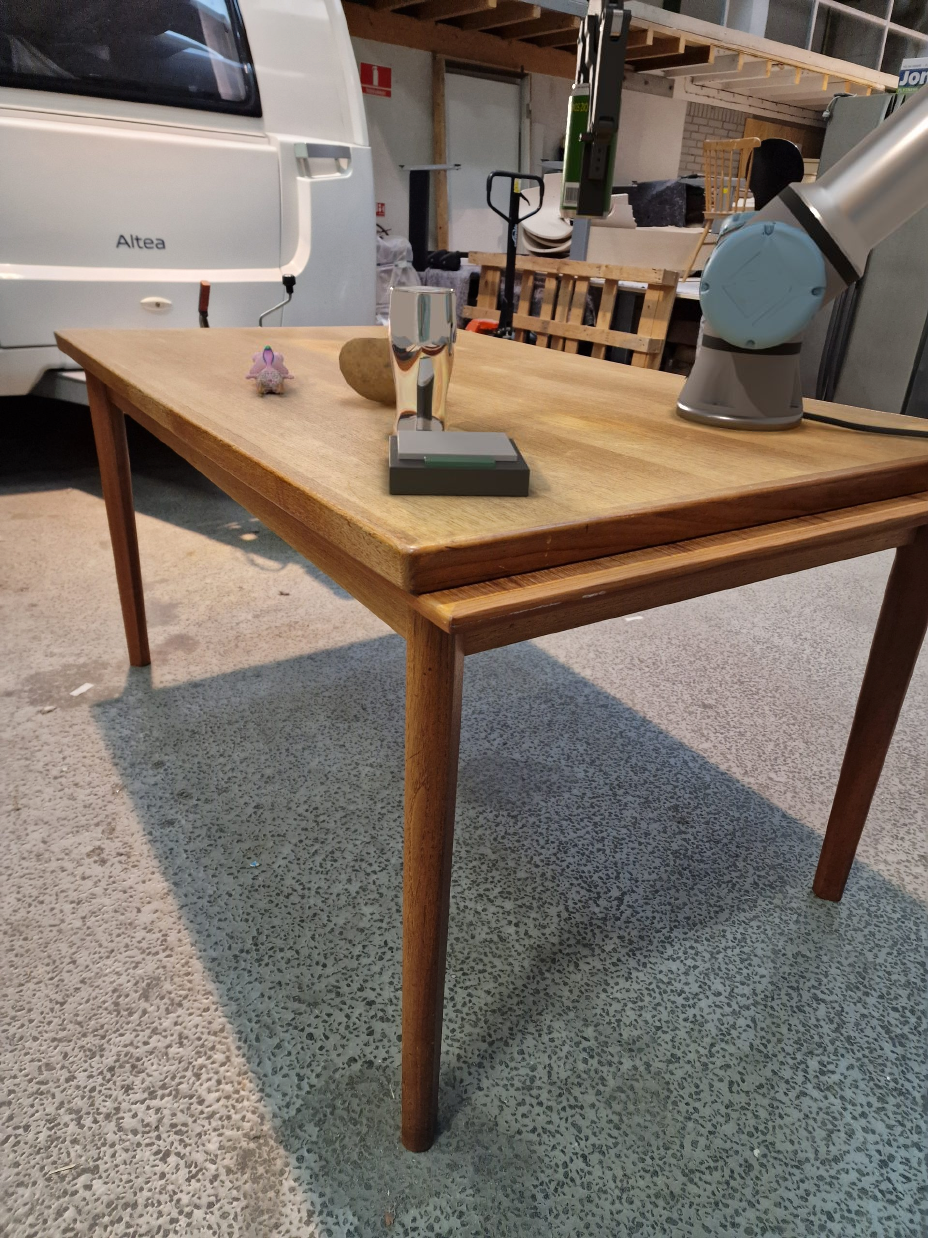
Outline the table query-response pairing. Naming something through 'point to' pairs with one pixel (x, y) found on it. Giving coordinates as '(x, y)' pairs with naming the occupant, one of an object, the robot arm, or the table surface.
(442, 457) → the scale
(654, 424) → the table surface
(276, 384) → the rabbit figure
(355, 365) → the potato
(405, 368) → the beer glass
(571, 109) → the beer can
